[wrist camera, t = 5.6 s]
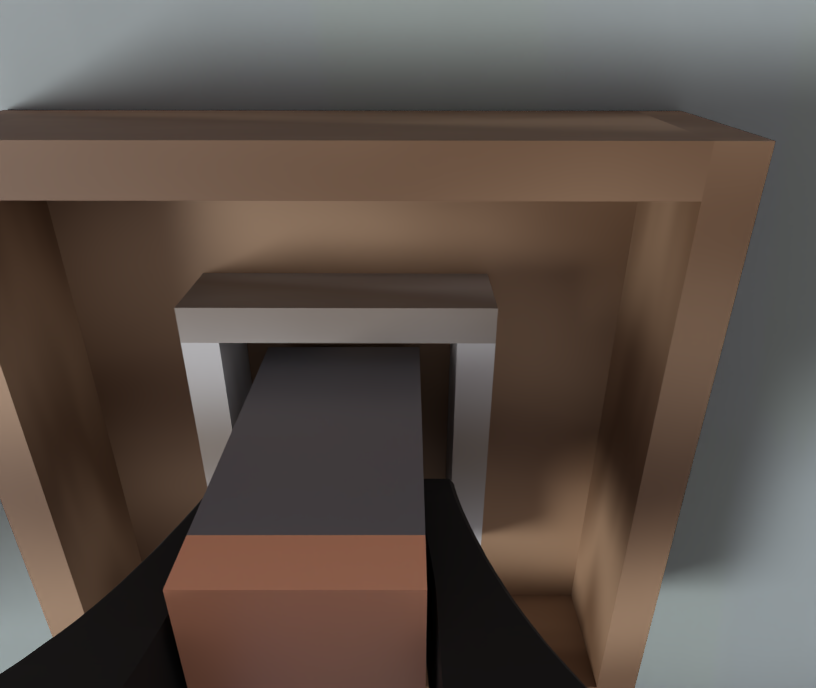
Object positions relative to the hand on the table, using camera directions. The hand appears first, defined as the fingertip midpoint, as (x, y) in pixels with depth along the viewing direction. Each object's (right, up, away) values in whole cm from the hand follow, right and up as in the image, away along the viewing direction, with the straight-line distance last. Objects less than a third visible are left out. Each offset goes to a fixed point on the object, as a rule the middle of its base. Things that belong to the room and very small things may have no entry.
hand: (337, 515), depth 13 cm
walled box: (0, +2, +4) cm, 5 cm away
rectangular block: (0, +1, +2) cm, 3 cm away
